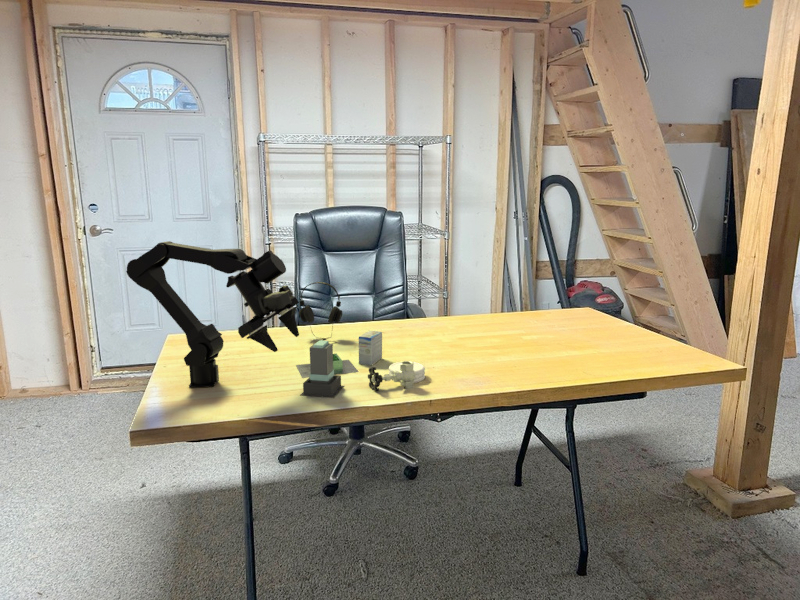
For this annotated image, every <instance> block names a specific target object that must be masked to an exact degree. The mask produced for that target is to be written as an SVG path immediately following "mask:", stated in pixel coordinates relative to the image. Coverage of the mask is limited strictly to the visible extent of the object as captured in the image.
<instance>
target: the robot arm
mask: <svg viewBox="0 0 800 600" xmlns="http://www.w3.org/2000/svg"><path fill="white" fill-rule="evenodd" d="M170 259H171V260H178V261H183V262H189V263H195V264H200V265H206V266H208V267H211V268H213V269H214V270H216V271H219V272H221V273H223V274H228V275H229V274H231V275H230V276H228V277H227V283H226V285H225V286H226V288H230V287H234V286H235V287H236V289H237V290H238V291H239V292H240V295H241V296H242V297H243V299H244V301H245V302H244V303H243V305H244V308H247V307H249V309H251V311H252V312H253V315H254V316H252V318H251V319H249V320H248V321H246V322H244V323H243V324H242V325H240V326H239V327H237V328H238V329H237V330H238V331H237V333H238V334H239V336H240V338H241V339H244V338H245V337H246V339H247V340H249V339H250V340H253V341H254V342H256V343H258V344H260V345H262V346H264V347H265V348H267V349H268V350H271V351H272V352H274V353H276V352H278V349H279V348H277V345H276V343H275V342H274V341H273V339H272V337H271V336H270V334H269V332H268V324H266V325H264V323H266V322H267V321H269V320H270V319H273V318H274V317H275V316H277V315H278V317H277V319H278V320H279V321H280V322H281V323H282V324H283V325H284V326H285V327H286V328H287V329H288V330H289V332H290V333H291V334H292V335H293V336H294V337H296V338H297V337H299V336H300V333H299V328H298V324H297V322H296V321H297V320H296V312H297V308H298V304H300V302H299V300H298V299H297V297H296V296H295V295H294V294H293V292H292V290H291V288H290V287H289V286H288V285H283V286H280V287H279V288H278V291H276V292H273V291H272V290H271V289H270V288H266V289H265V286H264V285H263V283H264V284H268V285H269V284H270V283H271V282H273V281H274V280H276V279H277V278H279V277H281V276H282V275H284V274H285V273H286V272H287V267H286V264H285V263H284V261H283V260H282V259H281V258H280V257H279V256H278V255H276V254H275V253H274V252H273V251H272V250H271V249H270V250H267V251H266V252H264V253H263V254H262V255H261V256H260V257H258V258H254V257H252V256H249V255H247V254H246V253H245V251H244V250H242V249H240V248H221V249H220V248H219V249H212V248H206V247H200V246H194V245H188V244H182V243H176V242H172V241H171V240H170V241H167V240H166V241H162V242H159V243H157V244H156V245H154V246H153V247H152V248H151V249H149V250H148V251H147V252H145V253H143V254H141V255H140V256H139V257H137V258H135V259H131V260H129V261H128V263H127V265H126V271H125V272H126V275H127V276H128V278H129V279H131V281H132V282H134V284H136V285H137V286H138V287H141V288H142V289H145V290H146V291H148V292H149V293H151V294H152V296H153V297H155V299H156V300H157V302H158V303H159V304H160V305H161V306H162V308H163V309H164V310H165V311H166V312H167V313H168V315H169V316H170V317H171V318H172V319H173V321H174V322H175V323H176V324H177V326H178V327H179V328H180V329H181V330H182V331H183V333H184V334H185V337H186V342H187V345H188V347H189V348H190V351H189V352H188V353H187V354H186V355H185V356H184V357H183V361H184V363H185V365H186V366H187V367H189V378H190V383H189V384H188V387H189V388H203V387H204V388H205V387H206V388H207V387H208V388H209V387H214V386H215V385H216V384H217V382H218V381H219V379H220V375H219V373H220V372H219V365H218V364H217V361H216V358H218V356H219V353H220V352H221V351H222V350H223V348H224V342H225V341H224V339H223V337H222V335H223V333H222V332H220V331H219V330H218V329H217V327H216V325H214V324H213V323H210V324H208V325H206V324H204V323H202V322H201V320H200V319H198V317H197V316H196V315H195V314H194V312H192V310H191V308H190V307H189V306H188V305H187V304H186V303H185V302H184V300H183V299H182V298H181V297H180V296H179V294H178V293H177V292H176V291H175V289H173V287H172V286H171V285H170V284H169V282H168V281H167V277H166V272H165V270H164V268H163V267H164V266H165V265H167V263H168V262H169V261H170ZM248 269H251V270H249V271H246V270H248ZM237 272H239V273H237ZM234 273H237V274H236V275H232V274H234Z"/></svg>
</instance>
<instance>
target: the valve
mask: <svg viewBox="0 0 800 600" xmlns="http://www.w3.org/2000/svg"><path fill="white" fill-rule="evenodd" d="M400 362H401V364H400V371H399V372H398V371H393V373H392V374H391V375H390V374H389V373H386V374H384V375H381V374H380V373H379V372H376V370H377V368H376V367H375V366H373V367H372V366H371V367H370V368H368V372H369V374H367V379H369V382H368V386H369V387H371V390H372V391H373V392H375V393H376V392H379V391H380V388H379V387H380V385H381V383H383V381H384V382H390V381H393V383H399V382H400V384H399V385H400V386H403V389H407V390H408V389H413V388H414V385H415V383H414V378H415V372H414V370H413V368H414V362H415V361H411V360H402V361H400ZM400 380H401V381H400Z"/></svg>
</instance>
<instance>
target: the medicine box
mask: <svg viewBox="0 0 800 600" xmlns="http://www.w3.org/2000/svg"><path fill="white" fill-rule="evenodd" d="M382 358H383V332H382V331H378V330H368V331H365V332H364V333H362V334H361V335H359V336H358V364H359V365H363V366H371V367H372V366H373V365H374V364H376V363H377V362H379V361H380V360H381V359H382Z"/></svg>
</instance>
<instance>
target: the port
mask: <svg viewBox="0 0 800 600" xmlns="http://www.w3.org/2000/svg"><path fill="white" fill-rule="evenodd" d="M295 367H296V368H297V371H298V373H299V375H300V377H301V378H302V379H308V378H310V374H311V372H310V363H304V364H303V363H302V364H295ZM333 370H334V375H343V374H351V373H359V371H358V369H357V367H356V366H355V365H354V364H353V363H352V362H351V360H349V359H342V358H341V357H340V356H339V354H338V353H333Z"/></svg>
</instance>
